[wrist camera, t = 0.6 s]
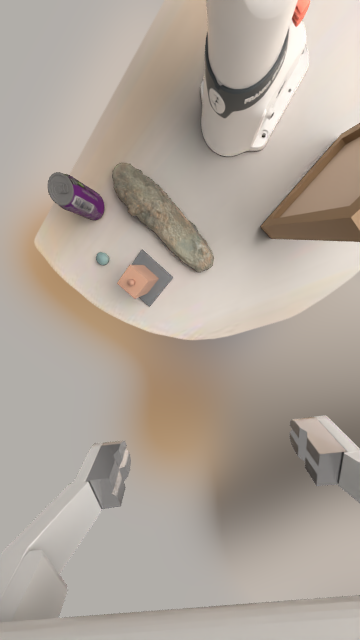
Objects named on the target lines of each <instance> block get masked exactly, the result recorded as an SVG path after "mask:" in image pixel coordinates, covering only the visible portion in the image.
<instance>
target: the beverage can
mask: <svg viewBox="0 0 360 640" xmlns="http://www.w3.org/2000/svg"><path fill="white" fill-rule="evenodd" d="M48 192H49V195H50V197H51V198H52V200H53V201H54V202H55V203H57V204H58V205H59V206H60V207H62V208H63V209H65V210H68V211H70V212H73V213H76V214H78V215H81V216H83V217H86V218H88V219H91V220H97V219H99V218H100V217H101V216H102V215H103V213H104V202H103V199H102V197H101V196H100V195H99V194H98V193H97V192H95V191H93V190H92V189H90V188H89V187H87V186H86V185H84V184H83V183H81V182H79V181H78V180H76V179H75V178H73V177H72V176H70V175H67V174H63V173H60V172H56V173H54V174H52V175H51V176H50V178H49V180H48Z"/></svg>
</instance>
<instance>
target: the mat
mask: <svg viewBox="0 0 360 640" xmlns="http://www.w3.org/2000/svg"><path fill="white" fill-rule="evenodd" d="M132 265H144V266H146V267H147V268H148V269H149V270H150V271H151V272H152V273H153V274H155V275H156V276H157V277H158V278H159V279H158V281H157V282H156V283H155V284H154V286H153V287H152V288H151V290H150V291H149V292H148V293H147V294H145V295H143V296H140V297H139V298H140V299H141V300H142V301H144V302H145V303H146V304H147V305H148V306H151V304H152V303H153V302H154V301H155V299H156V298H157V297H158V296H159V294H160V293H161V292H162V291H163V289H164V288H165V287H166V286H167V285H168V283H169V282H170V281H171V280H172V278H173V277H172V276H171V275H170V274H169V273H168V272H167V271H166V270H164V269H163V268H162V267H161V266H160V265H159V264H158V263H157V262H155V261H154V260H153V259H152V258H151V257H150V256H149V255H148V254H147V253H145V252H144V251H143V250H141V252H140V253H139V255H138V256H137V258H136V259H135V260H134V262H133V263H132Z"/></svg>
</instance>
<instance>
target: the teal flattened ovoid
mask: <svg viewBox="0 0 360 640" xmlns="http://www.w3.org/2000/svg"><path fill="white" fill-rule="evenodd" d="M96 260H97V262H98V263H99V264H100V265H106V264H107V263H108V262H109V257H108V255H107V254H106V253H102V252H100V253H98V254H97V256H96Z"/></svg>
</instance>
